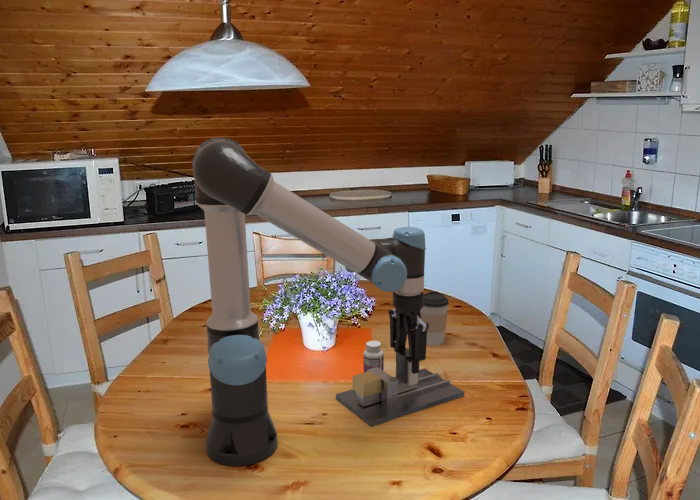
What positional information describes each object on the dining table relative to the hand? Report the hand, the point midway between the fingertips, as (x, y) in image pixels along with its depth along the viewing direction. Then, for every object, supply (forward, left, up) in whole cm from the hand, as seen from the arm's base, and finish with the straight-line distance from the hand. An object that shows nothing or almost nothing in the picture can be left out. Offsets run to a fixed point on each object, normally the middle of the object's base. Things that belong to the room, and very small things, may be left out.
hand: (407, 380), depth 154 cm
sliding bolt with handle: (-6, 0, -3) cm, 7 cm away
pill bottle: (-1, +13, -4) cm, 14 cm away
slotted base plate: (-2, 0, -4) cm, 5 cm away
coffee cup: (+28, +24, -4) cm, 37 cm away
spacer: (-12, 0, 0) cm, 12 cm away
